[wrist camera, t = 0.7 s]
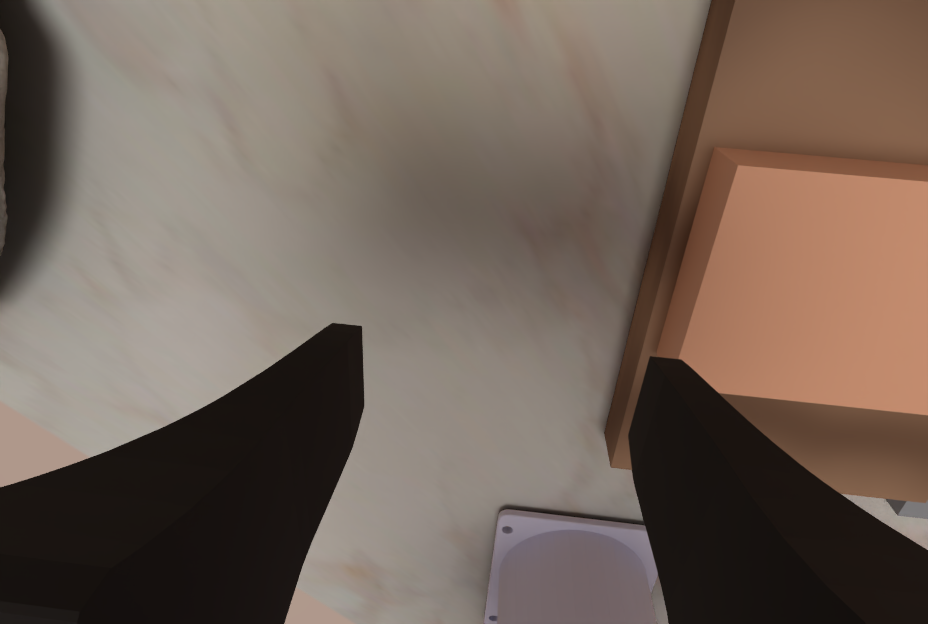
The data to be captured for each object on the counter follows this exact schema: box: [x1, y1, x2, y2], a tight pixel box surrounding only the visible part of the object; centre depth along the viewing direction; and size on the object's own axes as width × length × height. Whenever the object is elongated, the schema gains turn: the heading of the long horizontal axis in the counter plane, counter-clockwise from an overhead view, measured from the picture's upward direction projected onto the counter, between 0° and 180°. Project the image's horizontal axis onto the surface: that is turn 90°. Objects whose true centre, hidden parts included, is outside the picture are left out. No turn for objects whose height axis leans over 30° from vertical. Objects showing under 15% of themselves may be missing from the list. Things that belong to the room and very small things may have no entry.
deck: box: [604, 0, 928, 503], centre depth 18 cm, size 18×12×2 cm, turn 177°
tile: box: [656, 147, 928, 415], centre depth 16 cm, size 7×10×2 cm
